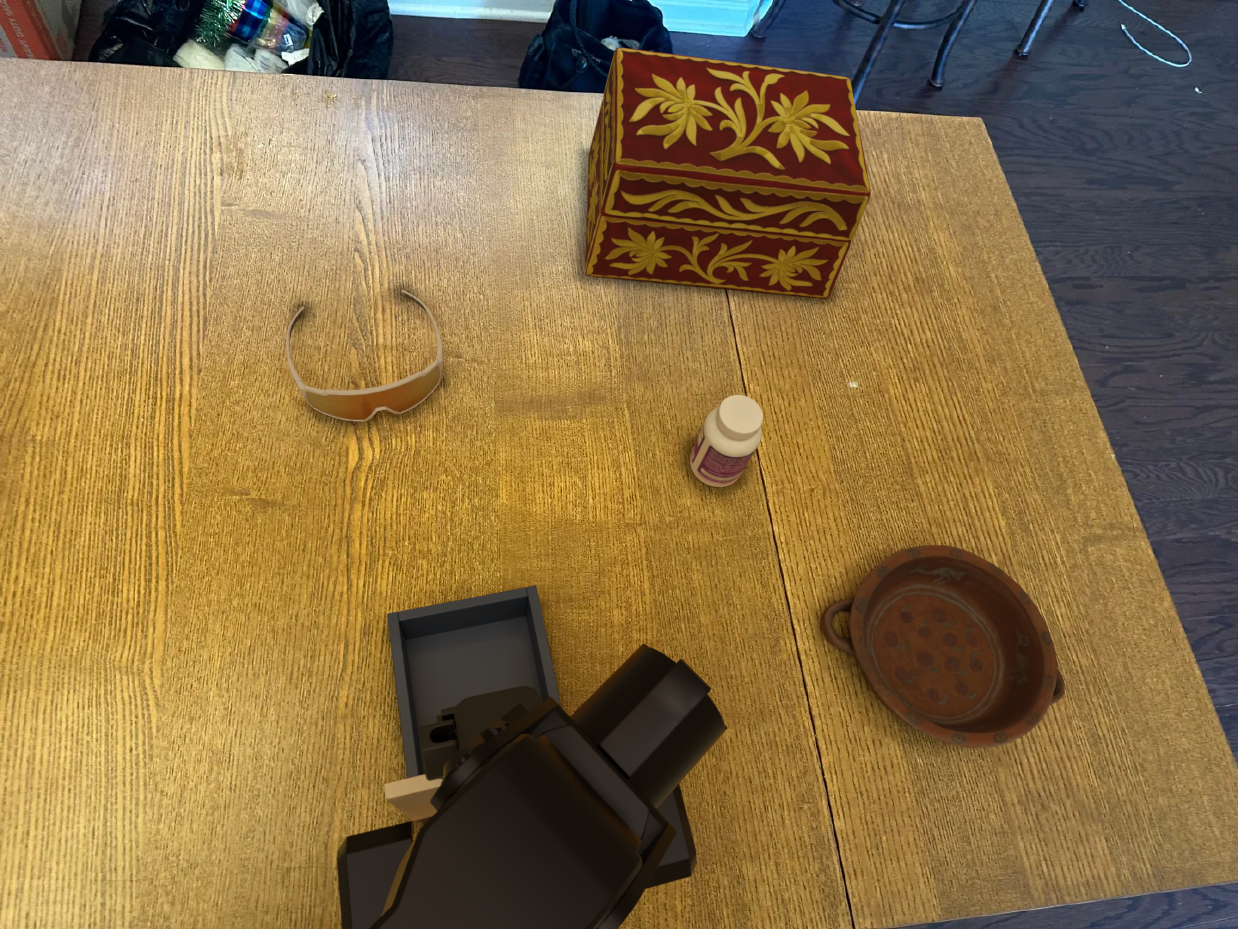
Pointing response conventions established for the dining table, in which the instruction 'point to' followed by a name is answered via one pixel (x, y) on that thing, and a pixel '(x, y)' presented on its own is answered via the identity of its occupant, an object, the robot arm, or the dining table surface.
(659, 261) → the decorative box
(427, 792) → the lid
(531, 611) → the box
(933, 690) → the dish
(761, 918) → the dining table surface
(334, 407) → the sunglasses
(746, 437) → the pill bottle
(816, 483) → the dining table surface
